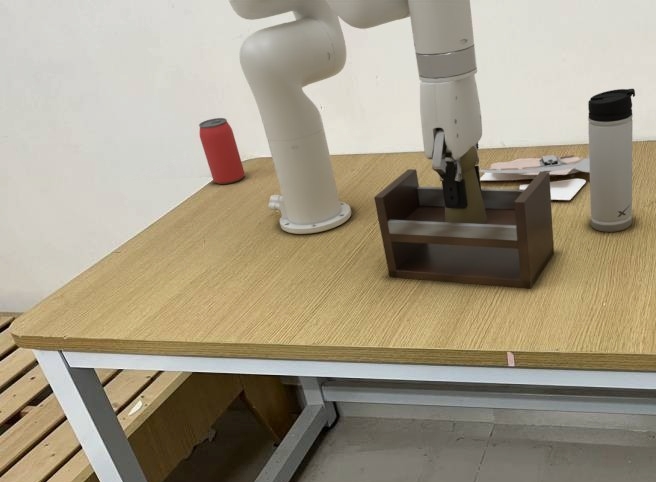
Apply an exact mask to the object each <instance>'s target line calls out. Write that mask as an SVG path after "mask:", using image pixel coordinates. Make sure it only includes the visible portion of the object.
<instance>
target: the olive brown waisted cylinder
mask: <svg viewBox="0 0 656 482" xmlns="http://www.w3.org/2000/svg"><path fill="white" fill-rule="evenodd" d="M446 156H447V157H451V156H452V152H446ZM476 162H477V151H476V148H475V147H474V146H472V147H471V148H470V149H469V151H467V152H466V153H465V154H464V155H463V156H462V157H461V174H462V178H461V179H465V187H466V195H467V203H468V206H467V207H466V208H465V209H458V208H446V207H445V222H450V223H471V224H484V223H485V222H486V221H487V216H486V211H485V207H484V203H483V199H482V195H481V191H480V187H479V183H478V179H477V175H476V171H475V167H474V166H477V165H476ZM446 163H447V165H451V166H452V168H453V169H454V162H446Z"/></svg>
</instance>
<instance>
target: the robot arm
mask: <svg viewBox="0 0 656 482" xmlns="http://www.w3.org/2000/svg"><path fill="white" fill-rule="evenodd" d="M228 2H229V5H230V6H231V8H232V10H233V12H235V13H236V15H237V16H238V17H239V18H242V19H244V20H250V21H251V20H260V19H266V18H269V17H274V16H279V15H282V14H287V13H290V12H292V14H293V16H294V19H295V20H293V21H289V22H288V21H287V22H283V23H279V24H275V25H272V26H268V27H265V28H261V29H258V30H257V31H254V32H252V33H251V34H250V35H248V36H247V37H246V38H245V39H244V41H243V42H242V44H241V45H240V49H239V63H240V66H241V70H242V72H243V75H244V77H245V79H246V81H247V84H248V87H249V88H250V91H251V93H252V95H253V97H254V101H255V103H256V105H257V109H258V112H259V114H260V118H261V122H262V125H263V129H264V133H265V137H266V140H267V144H268V148H269V151H270V156H271V160H272V163H273V167H274V171H275V174H276V178H277V182H278V186H279V189H280V193H281V194H272V195H270V197H269V203H268V209H269V210H270V211H280V213H281V216H280V218H279V226H280V228H281V230H283V231H284V232H287V233H290V234H296V235H297V234H298V235H307V234H316V233H321V232H325V231H328V230H331V229H334V228H336V227H338V226H339V227H340V225H343V224H344V223H345V222H347V221H349V219H350V217H351V216H352V209H351V206H350V205H349V204H348V203H346V202H343V201H340V196H339V192H338V187H337V182H336V177H335V172H334V169H333V163H332V159H331V154H330V149H329V146H328V141H327V137H326V132H325V131H326V130H325V127H324V123H323V119H322V115H321V112H320V111H319V108H318V107H317V105H316V104H315V103H314V101H312V100H311V99H310V98H309V97H308V95H307V94H306V93H305V92H304V90H303V88H305V87H307V86H308V85H311V84H315V83H317V82H321V81H323V80H328V79H329V78H332V77H334V76H336V75H338V74H339V73H340V72H342V71H343V69H344V67H345V66H346V63H347V45H346V40H345V37H344V32H343V29H342V25H341V22H340V19H341V20H342V21H343V22H344V23H346V24H347V25H349V26H350V27H352V28H356V29H361V30H362V29H363V30H364V29H371V28H375V27H379V26H381V25H384V24H388V23H392V22H395V21H399V20H404V19H407V18H410V24H411V25H410V26H411V31H412V32H411V33H412V39H413V47H414V51H415V59H416V67H417V74H418V79H419V81H420V83H419V109H420V125H421V135H422V142H423V150H424V156H425V158H426V159H427V160H432V162H431V169H432V171H435V172H436V174H437V175H438V176H439V181H440V182H441V187H443V195H444V202H445V207H446V208H458V209H465V208H466V207H467V206H468V203H467V195H466V187H465V179H461V178H462V174H461V157H462V156H463V155H464V154H465V153H466V152H467V151H469V149H470V148H471V147H472V146H474V147H475V148H476V151H477V162H476V165H475V166H474V167H475V171H476V175H477V179H478V183H479V187H480V191H481V188H482V185H481V180H480V178H481V175H480V174H481V173H480V172H479V169H480V166H479V163H480V157H479V151H478V150H479V148H480V146H479V142H480V141H481V138H482V136H483V122H482V112H481V111H482V110H481V103H480V96H479V91H478V86H477V80H476V75H477V73H478V65H477V57H476V56H477V55H476V47H475V39H474V38H475V37H474V28H473V18H472V11H471V0H228ZM475 74H476V75H475ZM446 152H452V156H451V157H447V156H446ZM446 162H454V169H453V168H452V166H451V165H447V163H446Z"/></svg>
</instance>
